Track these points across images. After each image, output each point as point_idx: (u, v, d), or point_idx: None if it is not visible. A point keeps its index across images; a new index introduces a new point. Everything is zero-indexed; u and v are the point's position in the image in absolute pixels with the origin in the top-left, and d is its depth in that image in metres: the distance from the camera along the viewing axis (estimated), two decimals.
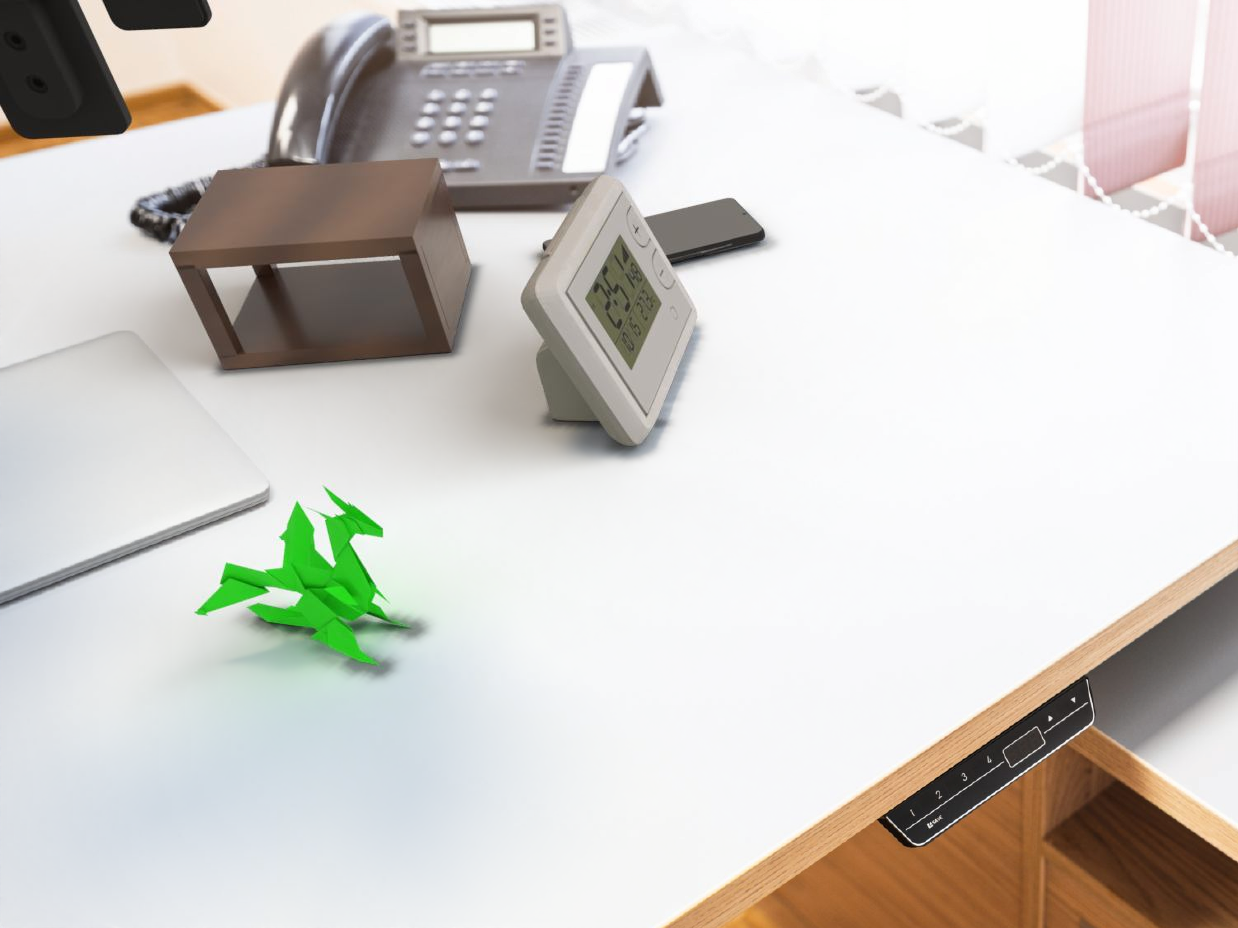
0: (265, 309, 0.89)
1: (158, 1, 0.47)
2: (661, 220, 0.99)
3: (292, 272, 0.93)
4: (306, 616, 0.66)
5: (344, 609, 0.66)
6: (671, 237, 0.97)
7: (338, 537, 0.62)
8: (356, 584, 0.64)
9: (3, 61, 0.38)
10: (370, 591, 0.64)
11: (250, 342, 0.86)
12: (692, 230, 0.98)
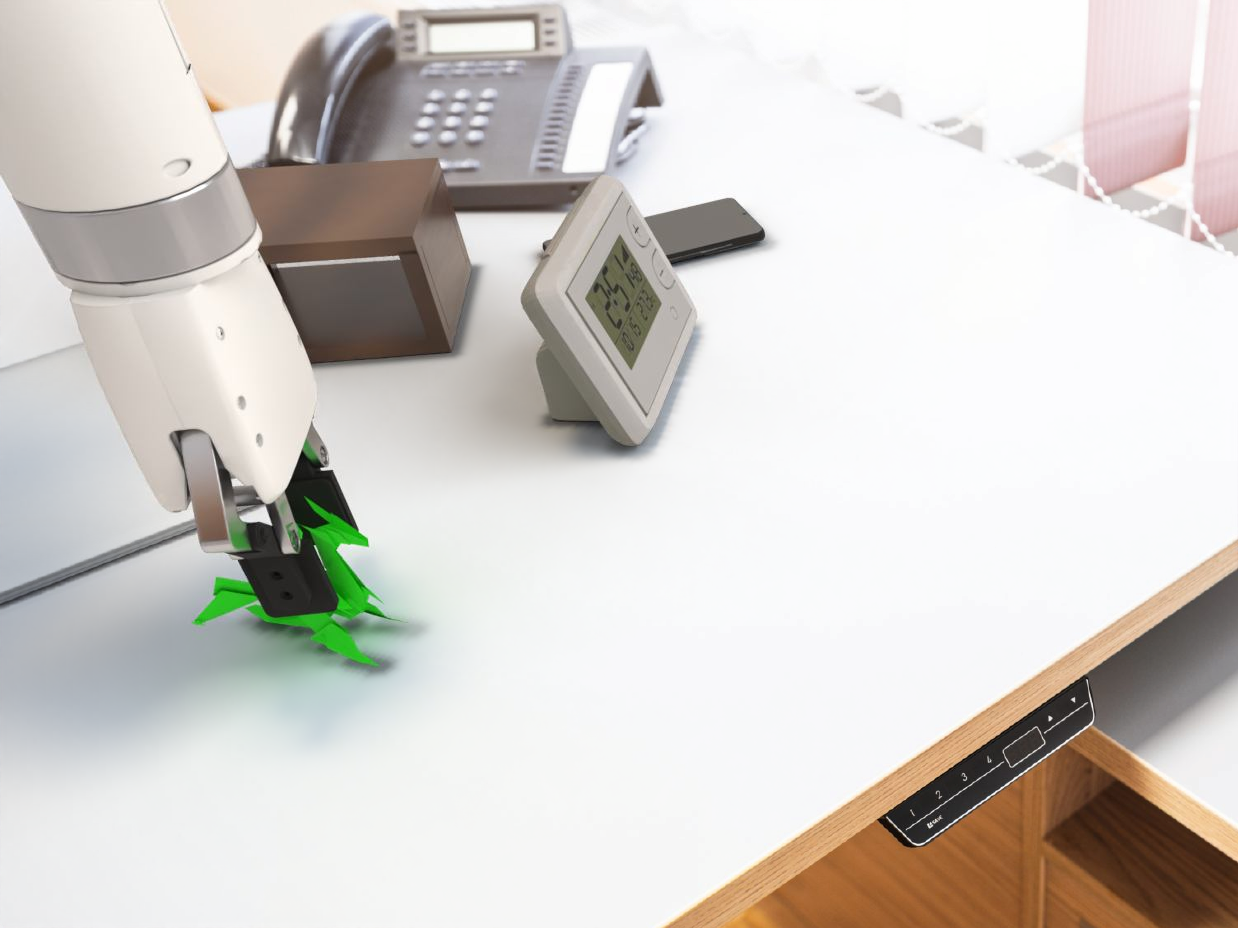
0: None
1: None
2: (661, 220, 0.99)
3: (292, 272, 0.93)
4: (303, 618, 0.66)
5: (340, 611, 0.66)
6: (671, 237, 0.97)
7: (325, 547, 0.61)
8: (348, 589, 0.64)
9: (267, 585, 0.61)
10: (363, 596, 0.64)
11: None
12: (692, 231, 0.98)
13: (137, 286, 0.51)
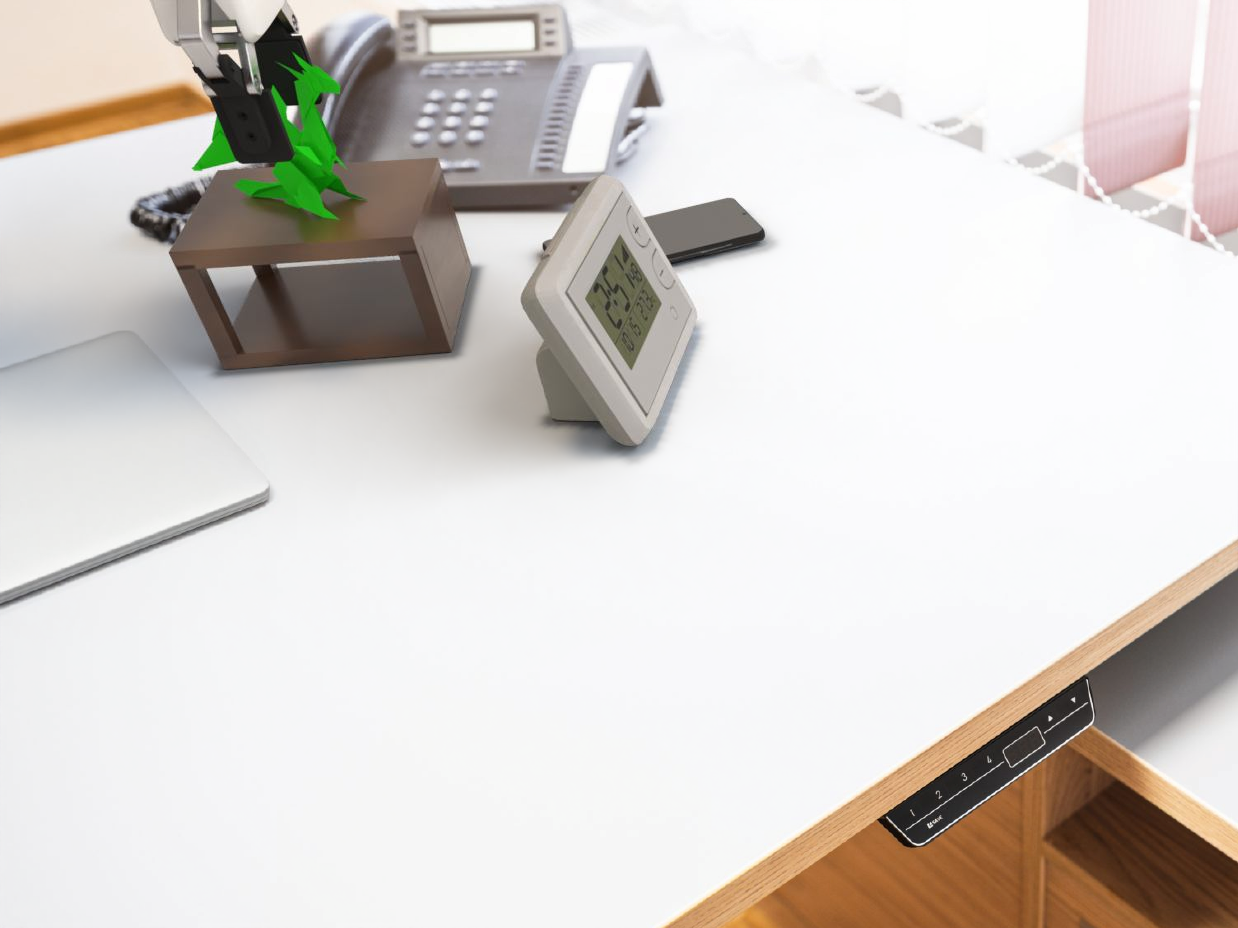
0: (265, 309, 0.89)
1: (295, 90, 0.84)
2: (661, 220, 0.99)
3: (292, 272, 0.93)
4: (280, 181, 0.83)
5: (311, 175, 0.83)
6: (671, 237, 0.97)
7: (305, 96, 0.79)
8: (320, 145, 0.81)
9: (236, 125, 0.76)
10: (331, 151, 0.81)
11: (250, 342, 0.86)
12: (692, 230, 0.98)
13: None
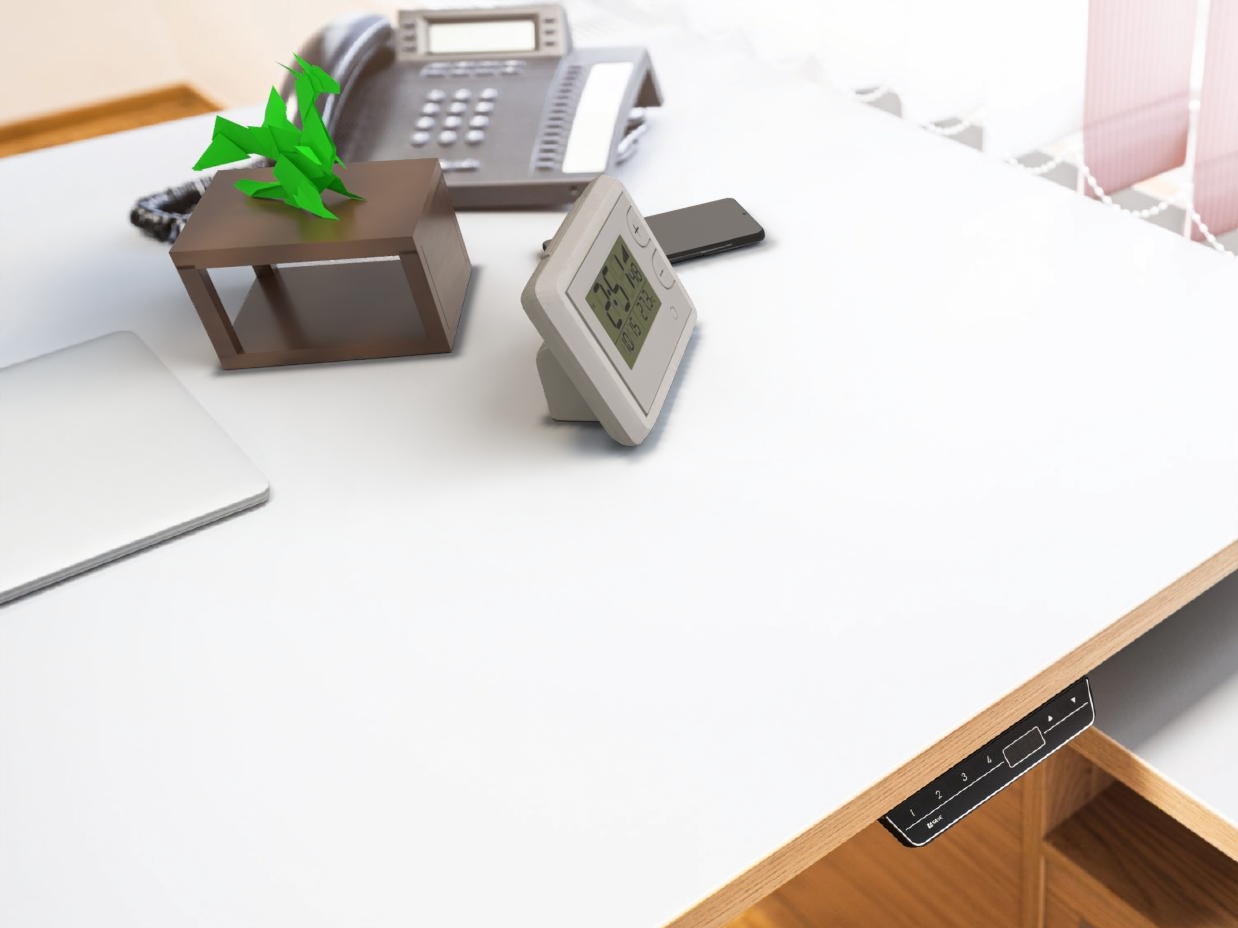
0: (265, 309, 0.89)
1: None
2: (661, 220, 0.99)
3: (292, 272, 0.93)
4: (280, 181, 0.83)
5: (311, 175, 0.83)
6: (671, 237, 0.97)
7: (305, 96, 0.79)
8: (320, 145, 0.81)
9: None
10: (331, 151, 0.81)
11: (250, 342, 0.86)
12: (692, 230, 0.98)
13: None
